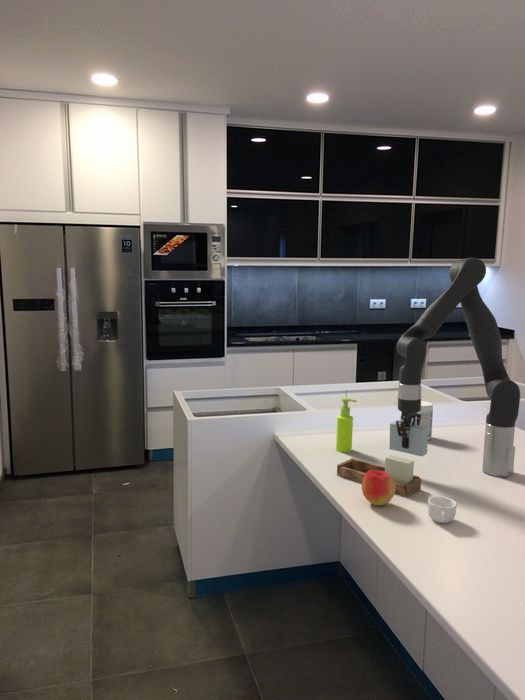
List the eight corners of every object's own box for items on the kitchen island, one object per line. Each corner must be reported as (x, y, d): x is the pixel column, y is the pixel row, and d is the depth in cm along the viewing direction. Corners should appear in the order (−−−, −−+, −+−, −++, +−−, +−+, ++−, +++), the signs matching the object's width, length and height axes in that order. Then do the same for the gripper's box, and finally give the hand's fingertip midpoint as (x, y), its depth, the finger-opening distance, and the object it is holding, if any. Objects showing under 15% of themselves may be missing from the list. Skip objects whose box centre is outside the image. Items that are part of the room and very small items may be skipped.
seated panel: (412, 488, 179) (413, 461, 178) (406, 491, 177) (408, 463, 175) (389, 481, 185) (391, 455, 183) (384, 484, 182) (385, 457, 181)
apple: (370, 512, 163) (371, 478, 161) (356, 499, 172) (357, 467, 170) (400, 508, 165) (401, 476, 164) (384, 496, 175) (386, 464, 173)
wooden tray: (420, 489, 180) (421, 477, 180) (407, 497, 174) (408, 484, 173) (350, 468, 197) (351, 457, 197) (336, 475, 191) (337, 463, 191)
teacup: (426, 512, 163) (427, 494, 162) (454, 515, 162) (455, 497, 161) (427, 528, 154) (428, 509, 153) (457, 531, 152) (458, 512, 151)
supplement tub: (435, 441, 231) (437, 405, 228) (412, 441, 229) (414, 406, 227) (425, 434, 240) (427, 400, 238) (403, 434, 239) (405, 400, 237)
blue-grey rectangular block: (427, 453, 189) (427, 427, 188) (422, 456, 186) (423, 429, 185) (394, 446, 197) (395, 421, 196) (389, 449, 194) (390, 423, 193)
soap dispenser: (355, 452, 215) (357, 401, 212) (337, 452, 215) (338, 400, 212) (353, 447, 220) (355, 397, 217) (335, 447, 221) (337, 397, 218)
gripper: (409, 402, 181) (408, 454, 184) (429, 394, 192) (428, 443, 194) (388, 398, 186) (387, 449, 189) (409, 391, 197) (407, 439, 199)
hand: (408, 446), depth 191 cm, fingers closed on blue-grey rectangular block, 3 cm apart
